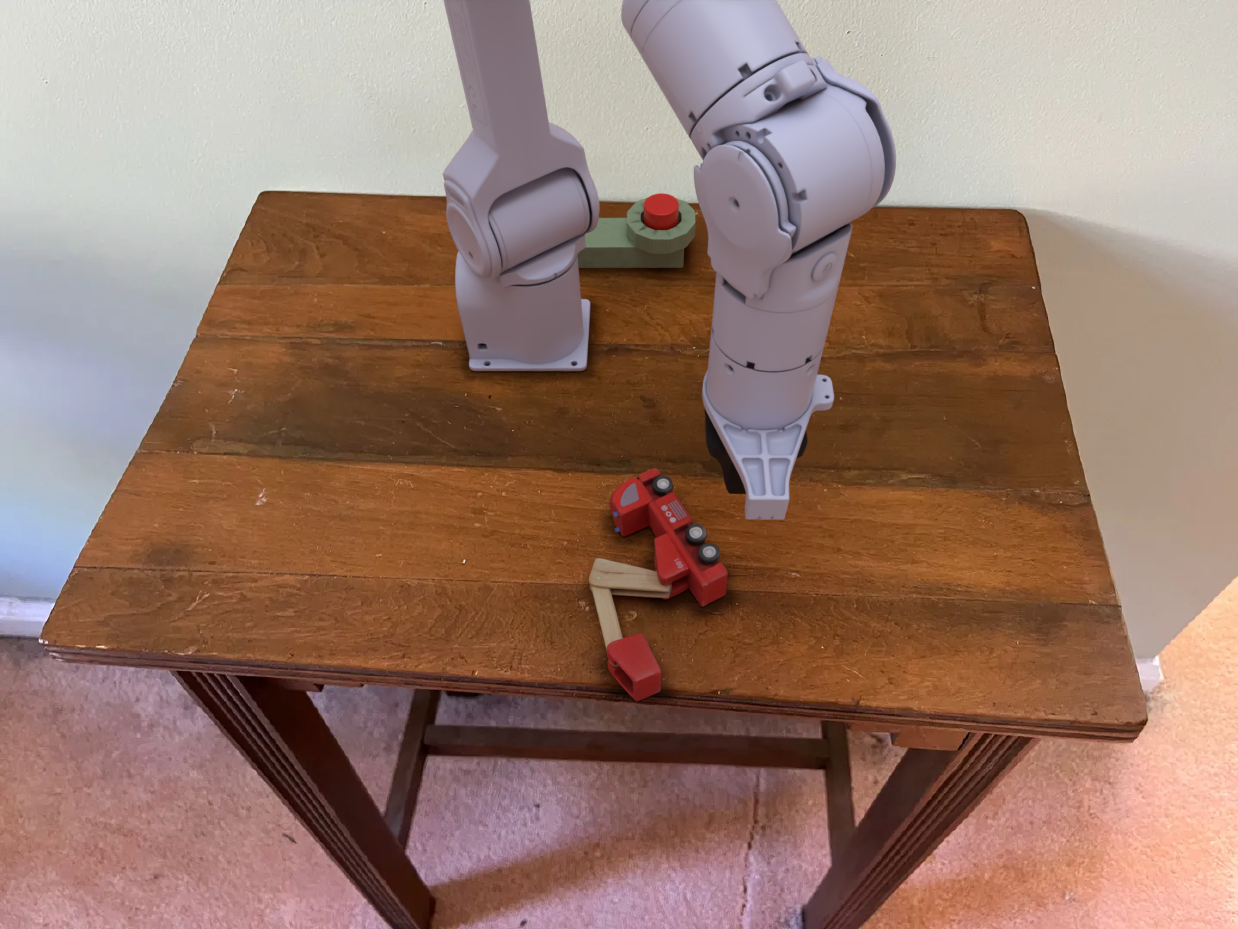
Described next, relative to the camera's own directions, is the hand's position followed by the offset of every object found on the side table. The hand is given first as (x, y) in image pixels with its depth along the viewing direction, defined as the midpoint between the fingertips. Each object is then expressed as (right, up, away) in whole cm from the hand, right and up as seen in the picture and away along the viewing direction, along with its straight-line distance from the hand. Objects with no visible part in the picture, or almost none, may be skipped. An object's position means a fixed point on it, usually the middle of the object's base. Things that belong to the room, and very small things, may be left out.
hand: (743, 485), depth 54 cm
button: (-4, +22, +21) cm, 31 cm away
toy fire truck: (-2, -4, +4) cm, 6 cm away
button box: (-7, +20, +24) cm, 32 cm away
